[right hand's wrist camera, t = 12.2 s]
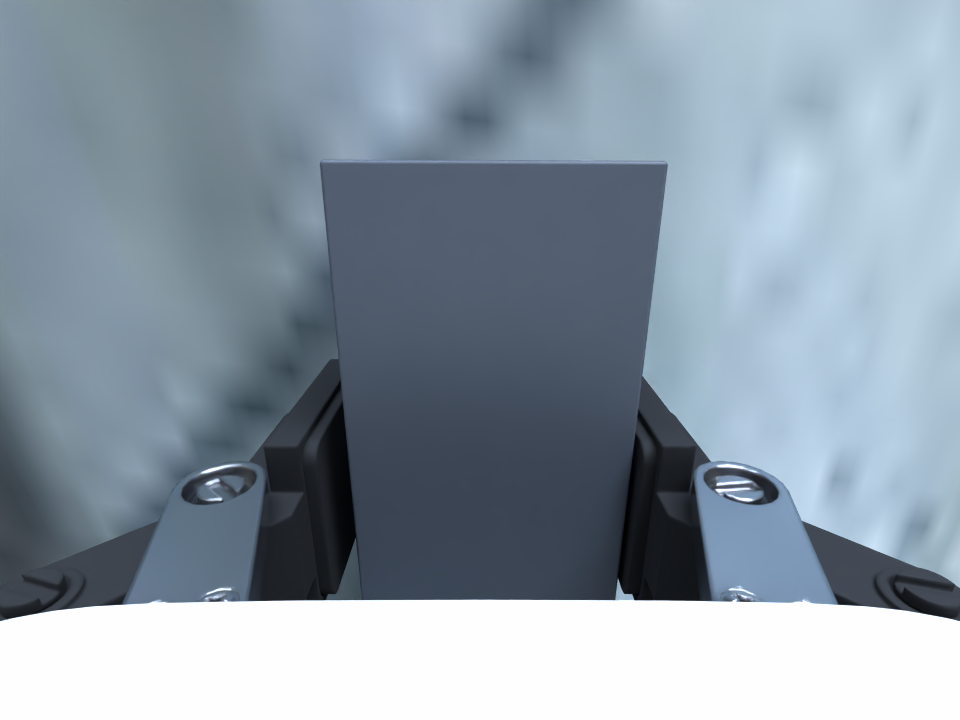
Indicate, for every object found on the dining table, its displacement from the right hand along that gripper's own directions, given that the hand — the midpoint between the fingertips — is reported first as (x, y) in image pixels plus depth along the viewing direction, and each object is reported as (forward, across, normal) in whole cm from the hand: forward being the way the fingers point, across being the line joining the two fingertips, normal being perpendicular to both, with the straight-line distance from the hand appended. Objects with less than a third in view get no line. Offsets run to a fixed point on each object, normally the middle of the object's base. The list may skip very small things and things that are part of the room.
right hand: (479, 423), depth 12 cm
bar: (+4, 0, -25) cm, 25 cm away
